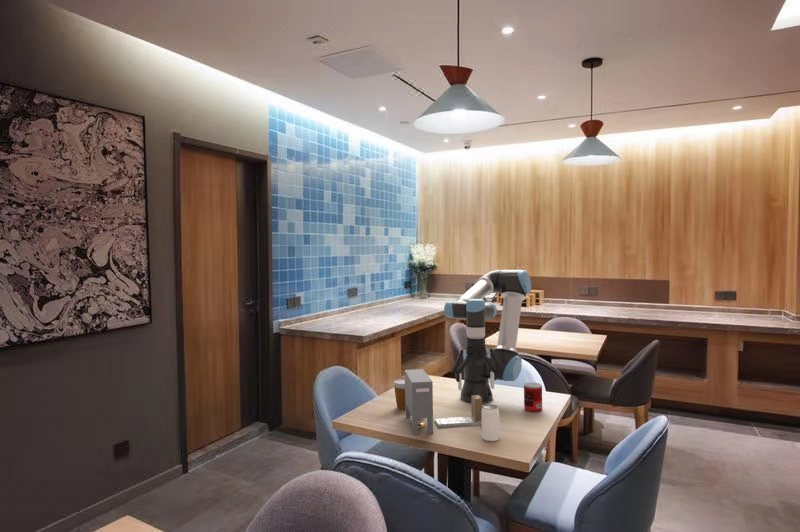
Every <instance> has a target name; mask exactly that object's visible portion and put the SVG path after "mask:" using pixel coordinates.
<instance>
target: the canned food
mask: <svg viewBox="0 0 800 532" xmlns="http://www.w3.org/2000/svg"><path fill="white" fill-rule="evenodd" d="M523 396H524V397H523V406H524V410H525V411H527V412H530V413H531V412H532V413H539V412H541V411H542V410H543V385H542V383H538V382H533V381H532V382H525V383H524V384H523Z"/></svg>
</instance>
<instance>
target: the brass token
mask: <svg viewBox="0 0 800 532" xmlns="http://www.w3.org/2000/svg"><path fill="white" fill-rule="evenodd" d="M423 428H426V422H425V421H423V420H422V421H421V420H418V429H423Z"/></svg>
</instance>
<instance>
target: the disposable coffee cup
mask: <svg viewBox="0 0 800 532" xmlns="http://www.w3.org/2000/svg"><path fill="white" fill-rule="evenodd" d="M392 385H393V387H394V395H395V401H396V408H397V410H401V411H402V410H403V411H405V378H400V379H395V380H394V382H393V383H392Z"/></svg>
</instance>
